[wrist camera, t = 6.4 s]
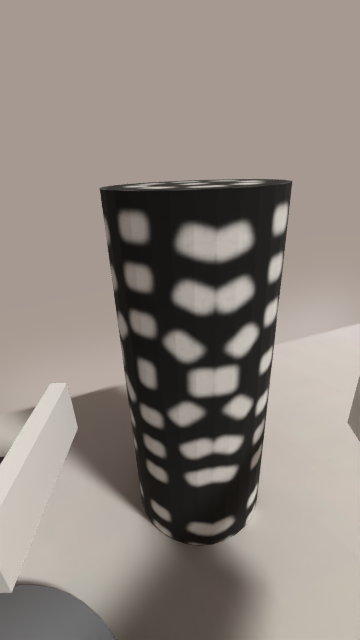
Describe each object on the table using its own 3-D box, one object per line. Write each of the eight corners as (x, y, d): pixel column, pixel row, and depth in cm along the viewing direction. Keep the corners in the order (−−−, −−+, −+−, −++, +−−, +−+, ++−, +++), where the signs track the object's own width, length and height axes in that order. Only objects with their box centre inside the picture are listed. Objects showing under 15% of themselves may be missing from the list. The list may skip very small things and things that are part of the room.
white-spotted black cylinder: (185, 424, 28) (176, 180, 19) (275, 471, 23) (317, 178, 15) (116, 496, 22) (58, 189, 13) (219, 577, 17) (233, 191, 9)
